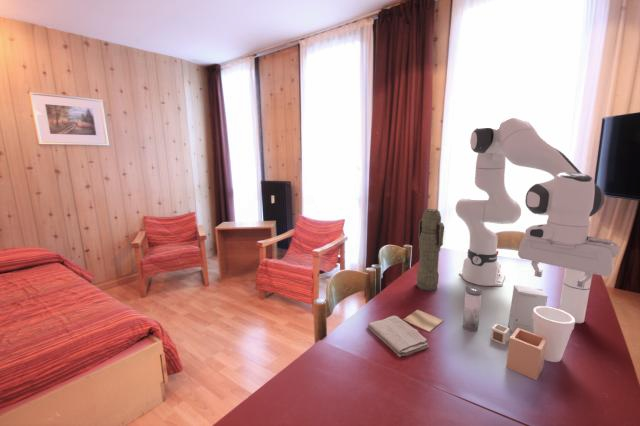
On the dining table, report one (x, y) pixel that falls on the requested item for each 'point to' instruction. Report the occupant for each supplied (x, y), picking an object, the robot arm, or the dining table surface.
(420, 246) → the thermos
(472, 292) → the tin canister
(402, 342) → the washcloth
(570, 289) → the cylindrical container
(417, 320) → the cork coaster
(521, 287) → the skincare box
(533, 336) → the terracotta planter
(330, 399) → the dining table surface
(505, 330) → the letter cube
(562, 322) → the foam cup
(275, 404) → the dining table surface
